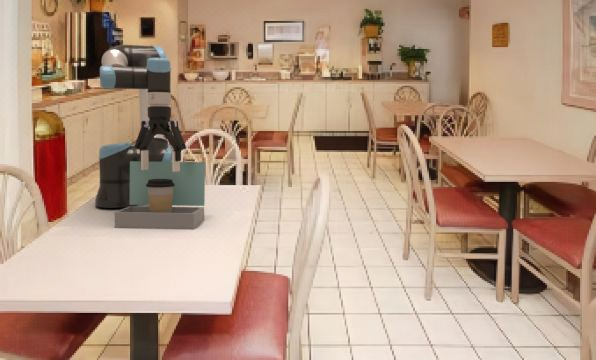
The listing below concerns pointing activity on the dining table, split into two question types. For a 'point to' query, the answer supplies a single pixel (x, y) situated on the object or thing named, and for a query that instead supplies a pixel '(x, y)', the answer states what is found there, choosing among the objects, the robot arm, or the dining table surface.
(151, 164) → the cover
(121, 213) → the grey shallow open piece
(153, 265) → the dining table surface
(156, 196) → the coffee cup
